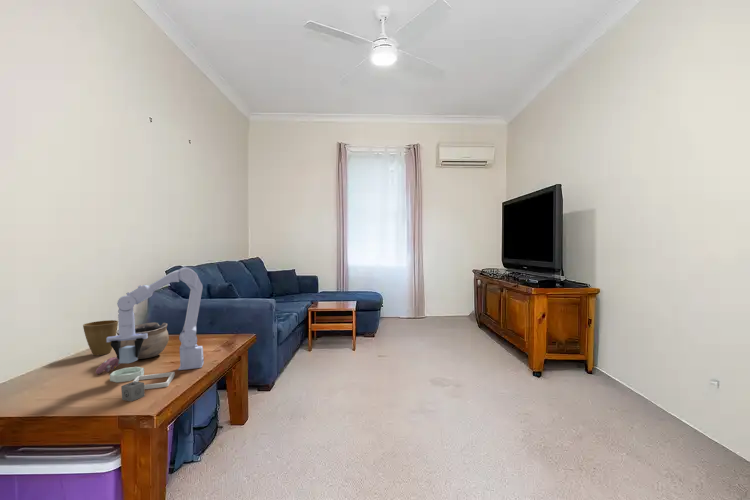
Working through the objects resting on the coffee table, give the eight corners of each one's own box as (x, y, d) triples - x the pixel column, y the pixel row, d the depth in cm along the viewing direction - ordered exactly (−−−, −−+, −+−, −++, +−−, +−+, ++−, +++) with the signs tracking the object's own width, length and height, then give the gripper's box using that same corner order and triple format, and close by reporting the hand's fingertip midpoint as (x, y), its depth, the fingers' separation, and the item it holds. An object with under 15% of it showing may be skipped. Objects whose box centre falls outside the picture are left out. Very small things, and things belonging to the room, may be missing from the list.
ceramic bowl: (178, 354, 201) (177, 324, 200) (133, 366, 182) (131, 333, 182) (154, 349, 212) (152, 320, 212) (109, 360, 194) (107, 329, 194)
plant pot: (107, 357, 200) (105, 325, 199) (77, 358, 200) (75, 326, 199) (125, 349, 215) (124, 319, 214) (98, 350, 215) (96, 320, 214)
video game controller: (102, 378, 173) (107, 363, 172) (93, 373, 174) (99, 358, 173) (120, 370, 183) (125, 357, 182) (112, 365, 183) (117, 352, 183)
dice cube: (135, 394, 148) (134, 381, 148) (144, 396, 146) (144, 382, 146) (122, 399, 143) (121, 386, 143) (131, 401, 141) (131, 387, 141)
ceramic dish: (146, 371, 175) (146, 365, 175) (138, 379, 164) (138, 373, 164) (116, 374, 172) (116, 368, 172) (106, 383, 161) (106, 377, 161)
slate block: (137, 360, 169) (136, 345, 168) (129, 363, 164) (128, 348, 164) (128, 359, 169) (127, 345, 169) (119, 363, 165) (118, 348, 165)
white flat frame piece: (174, 375, 168) (174, 371, 168) (167, 386, 155) (167, 382, 155) (137, 379, 164) (137, 376, 164) (127, 391, 151) (127, 387, 151)
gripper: (148, 321, 172) (150, 353, 173) (110, 324, 168) (111, 357, 169) (144, 324, 166) (146, 357, 166) (103, 328, 161) (105, 361, 162)
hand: (128, 357), depth 167 cm, fingers closed on slate block, 6 cm apart
